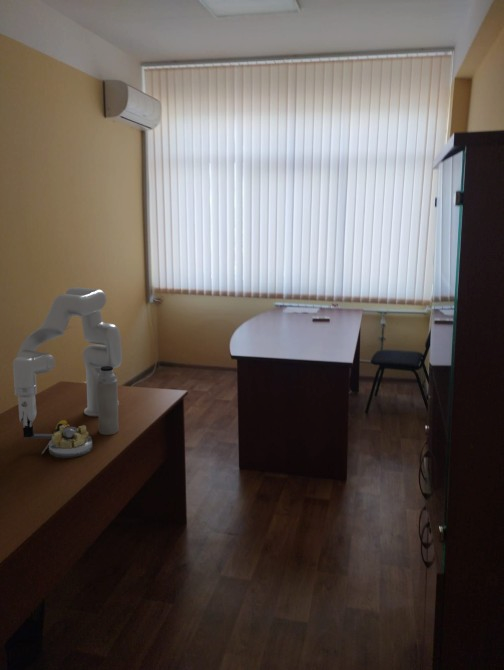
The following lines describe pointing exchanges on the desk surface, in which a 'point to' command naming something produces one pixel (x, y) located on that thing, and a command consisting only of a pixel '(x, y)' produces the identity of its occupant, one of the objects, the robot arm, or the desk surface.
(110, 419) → the thermos bottle
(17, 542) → the desk surface
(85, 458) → the desk surface
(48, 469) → the desk surface
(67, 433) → the plate with blocky chunks
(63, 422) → the screwdriver
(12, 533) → the desk surface
